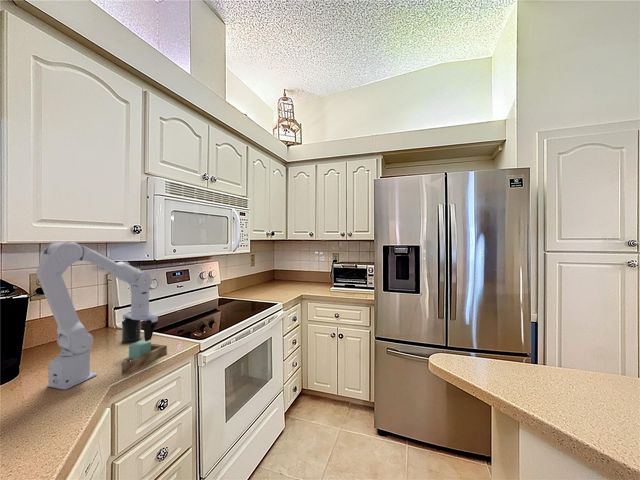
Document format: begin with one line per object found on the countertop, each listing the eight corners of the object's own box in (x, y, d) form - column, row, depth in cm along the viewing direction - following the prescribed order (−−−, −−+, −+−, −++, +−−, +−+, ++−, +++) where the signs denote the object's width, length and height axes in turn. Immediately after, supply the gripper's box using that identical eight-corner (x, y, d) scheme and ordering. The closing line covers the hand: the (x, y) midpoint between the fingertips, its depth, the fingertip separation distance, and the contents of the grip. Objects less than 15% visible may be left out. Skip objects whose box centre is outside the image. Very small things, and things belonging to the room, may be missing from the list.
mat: (139, 361, 102) (139, 361, 102) (124, 359, 104) (124, 359, 104) (155, 354, 109) (155, 353, 109) (140, 352, 111) (140, 351, 111)
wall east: (163, 354, 108) (163, 347, 108) (141, 351, 111) (141, 344, 111) (166, 353, 110) (166, 345, 110) (144, 350, 113) (144, 342, 113)
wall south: (125, 374, 93) (125, 365, 93) (122, 373, 93) (121, 364, 93) (163, 354, 108) (163, 347, 108) (160, 354, 109) (160, 346, 109)
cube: (151, 354, 108) (150, 341, 108) (139, 360, 103) (139, 346, 103) (140, 353, 109) (140, 340, 109) (128, 358, 105) (128, 345, 104)
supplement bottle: (131, 343, 120) (131, 315, 120) (118, 342, 121) (118, 314, 121) (144, 338, 126) (144, 311, 126) (131, 336, 128) (131, 310, 128)
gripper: (164, 302, 108) (164, 337, 108) (134, 300, 112) (134, 334, 112) (148, 306, 101) (148, 344, 101) (117, 304, 105) (117, 340, 105)
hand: (139, 339), depth 106 cm, fingers open, 7 cm apart
